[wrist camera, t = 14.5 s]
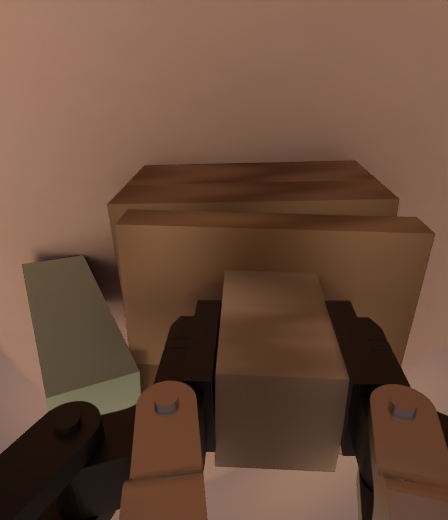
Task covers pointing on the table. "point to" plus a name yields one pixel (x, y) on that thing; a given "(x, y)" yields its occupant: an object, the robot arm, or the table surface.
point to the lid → (271, 315)
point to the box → (255, 190)
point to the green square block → (78, 338)
